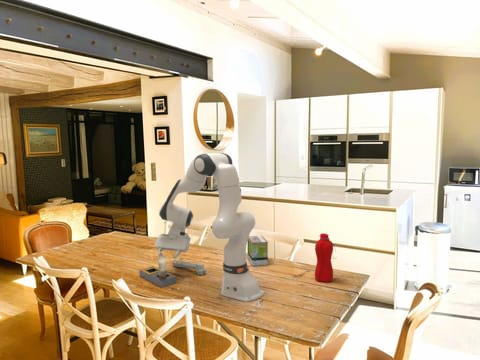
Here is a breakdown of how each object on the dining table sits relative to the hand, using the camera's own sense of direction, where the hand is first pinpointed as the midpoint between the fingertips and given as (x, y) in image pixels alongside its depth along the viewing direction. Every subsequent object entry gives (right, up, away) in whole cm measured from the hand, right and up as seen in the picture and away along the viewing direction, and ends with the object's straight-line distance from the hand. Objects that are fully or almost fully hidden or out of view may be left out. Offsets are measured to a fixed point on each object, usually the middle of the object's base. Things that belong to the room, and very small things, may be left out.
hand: (167, 257), depth 199 cm
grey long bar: (+10, -11, +14) cm, 20 cm away
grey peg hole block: (-5, -12, +1) cm, 14 cm away
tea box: (+51, -9, +26) cm, 58 cm away
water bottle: (+86, -11, -4) cm, 87 cm away
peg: (-1, -13, -3) cm, 13 cm away
